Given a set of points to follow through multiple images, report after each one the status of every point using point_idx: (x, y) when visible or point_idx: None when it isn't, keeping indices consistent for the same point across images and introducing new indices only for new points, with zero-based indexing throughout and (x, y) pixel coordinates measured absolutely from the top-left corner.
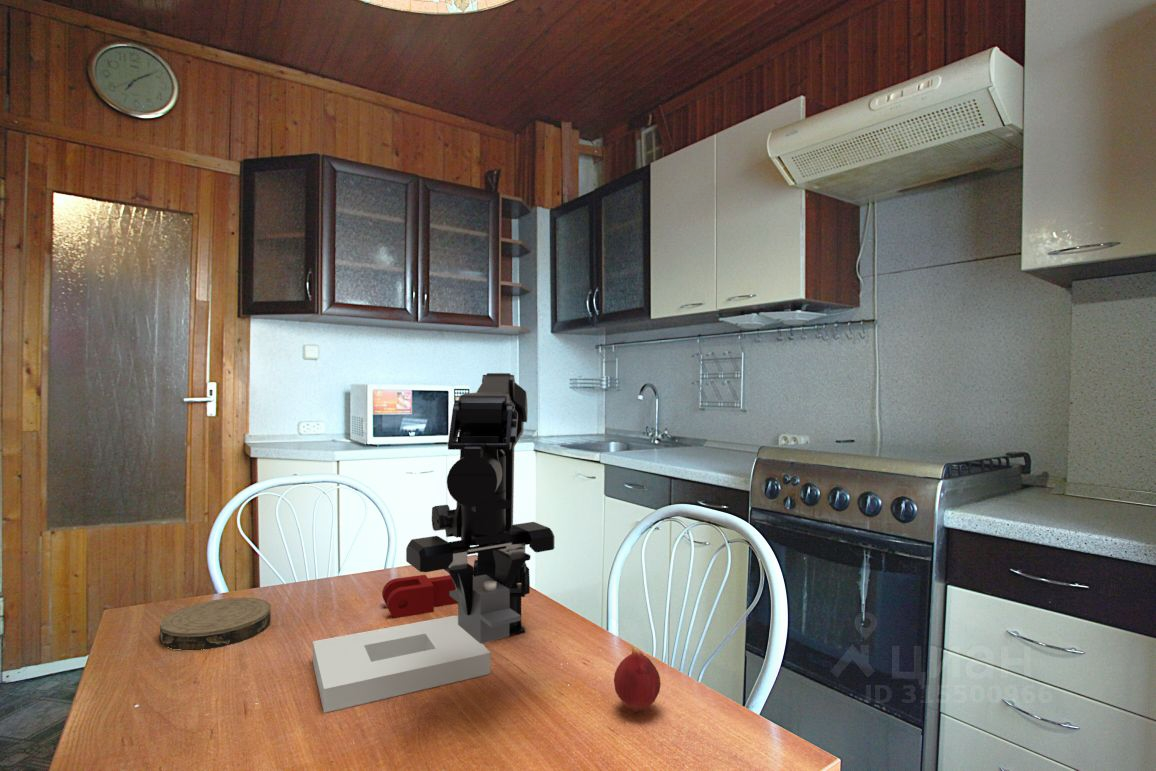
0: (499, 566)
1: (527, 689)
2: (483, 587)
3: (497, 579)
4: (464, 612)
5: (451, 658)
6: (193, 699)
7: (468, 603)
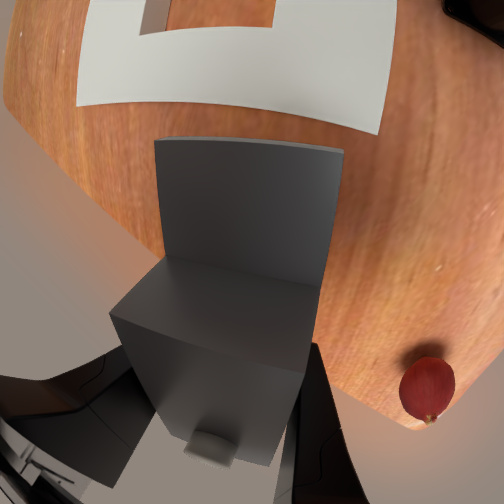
0: (283, 501)
1: (385, 232)
2: (197, 428)
3: (290, 441)
4: None
5: (281, 97)
6: (38, 31)
7: None
